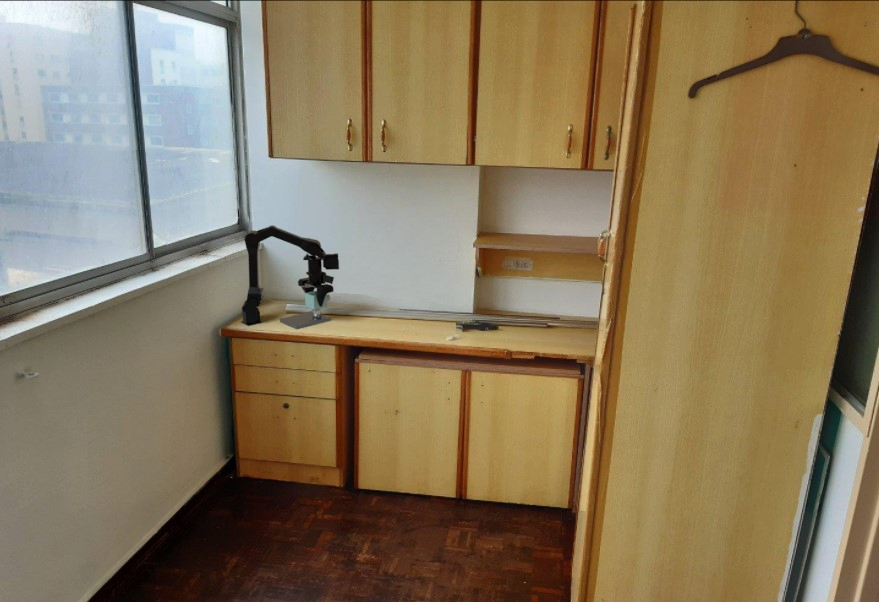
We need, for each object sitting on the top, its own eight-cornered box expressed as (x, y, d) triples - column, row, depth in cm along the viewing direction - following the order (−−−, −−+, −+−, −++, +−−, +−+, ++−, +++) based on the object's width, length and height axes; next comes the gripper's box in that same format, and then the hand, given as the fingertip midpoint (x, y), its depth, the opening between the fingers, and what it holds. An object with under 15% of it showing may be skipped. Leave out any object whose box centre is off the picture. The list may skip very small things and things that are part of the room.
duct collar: (305, 306, 279) (305, 293, 278) (324, 302, 286) (324, 289, 284) (314, 309, 275) (313, 296, 273) (333, 305, 282) (332, 292, 280)
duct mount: (296, 329, 270) (295, 314, 268) (279, 321, 278) (279, 307, 277) (329, 320, 281) (329, 306, 279) (313, 313, 290) (312, 300, 288)
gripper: (343, 270, 274) (344, 305, 278) (318, 263, 286) (319, 296, 291) (321, 275, 266) (322, 310, 271) (296, 266, 279) (298, 301, 283)
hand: (316, 304), depth 279 cm, fingers closed on duct collar, 7 cm apart
